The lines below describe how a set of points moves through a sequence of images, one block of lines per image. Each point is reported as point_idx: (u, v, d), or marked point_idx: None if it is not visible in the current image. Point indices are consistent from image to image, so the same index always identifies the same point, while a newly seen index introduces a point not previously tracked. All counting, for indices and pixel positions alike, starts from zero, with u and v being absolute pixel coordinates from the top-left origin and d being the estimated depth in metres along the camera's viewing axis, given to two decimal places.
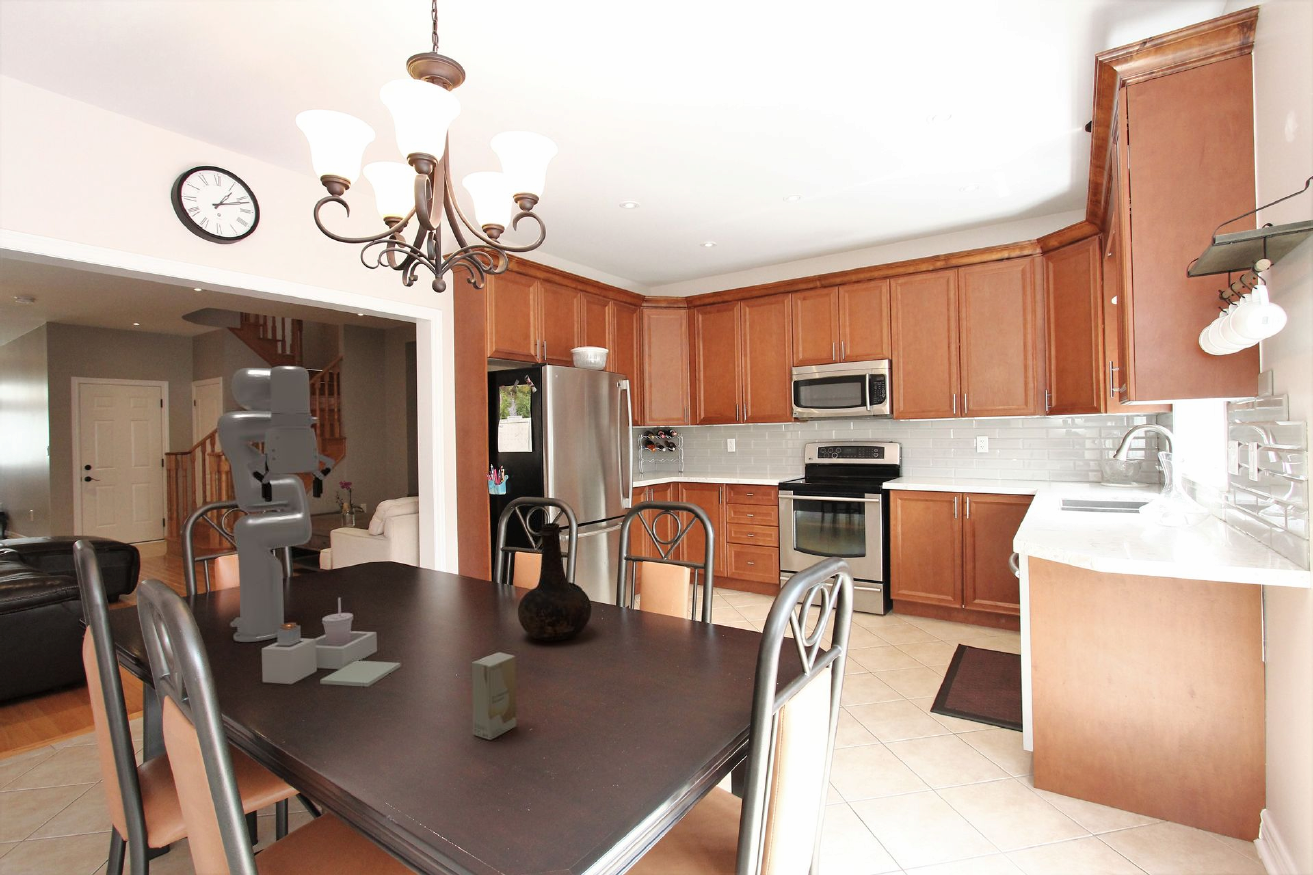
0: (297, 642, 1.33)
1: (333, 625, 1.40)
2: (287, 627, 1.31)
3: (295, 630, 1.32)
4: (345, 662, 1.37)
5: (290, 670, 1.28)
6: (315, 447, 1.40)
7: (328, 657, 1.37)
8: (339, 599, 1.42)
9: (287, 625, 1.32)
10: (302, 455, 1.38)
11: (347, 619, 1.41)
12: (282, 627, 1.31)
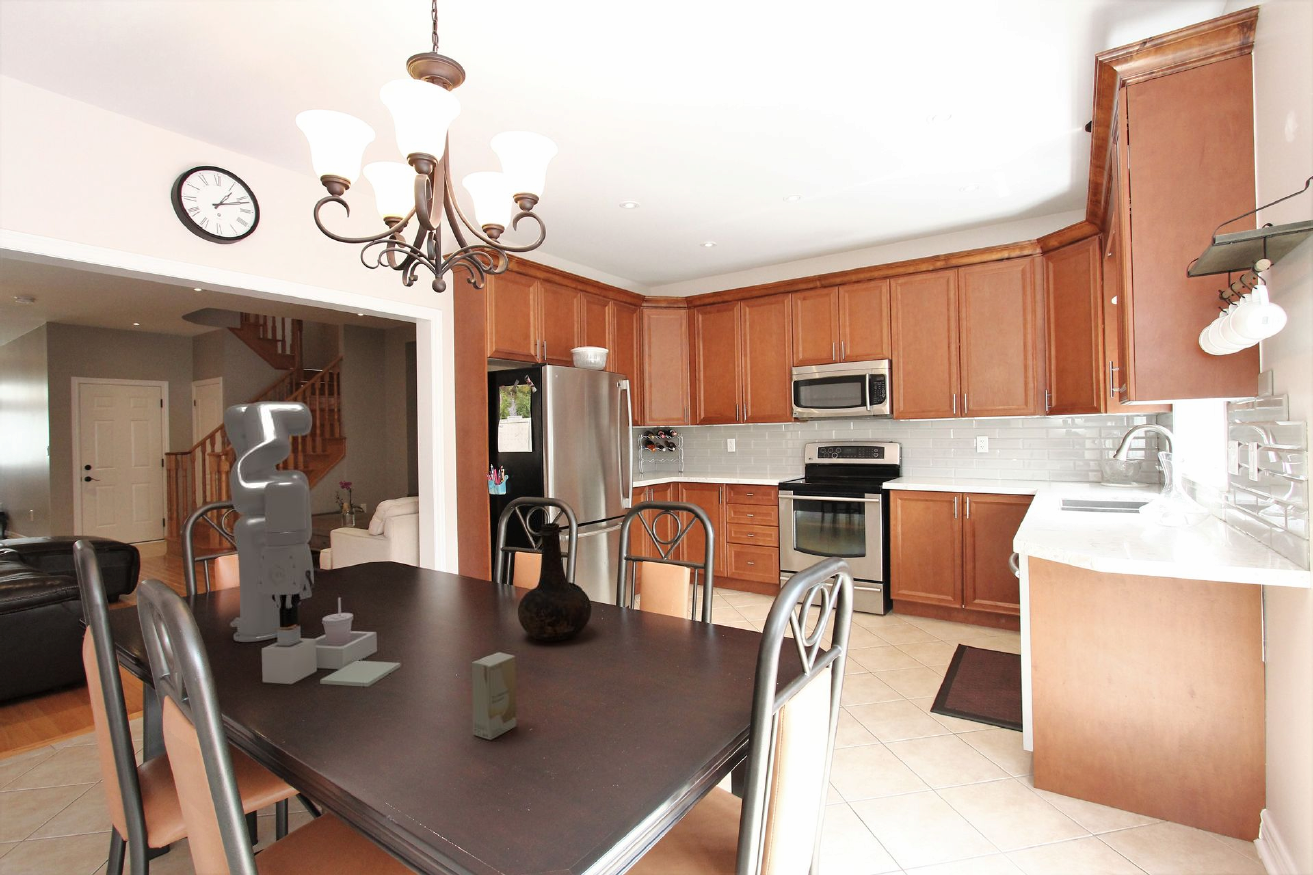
0: (297, 643, 1.33)
1: (333, 625, 1.40)
2: (287, 628, 1.31)
3: (295, 630, 1.32)
4: (345, 662, 1.37)
5: (290, 670, 1.28)
6: None
7: (328, 657, 1.37)
8: (339, 599, 1.42)
9: None
10: None
11: (347, 619, 1.41)
12: (282, 628, 1.31)
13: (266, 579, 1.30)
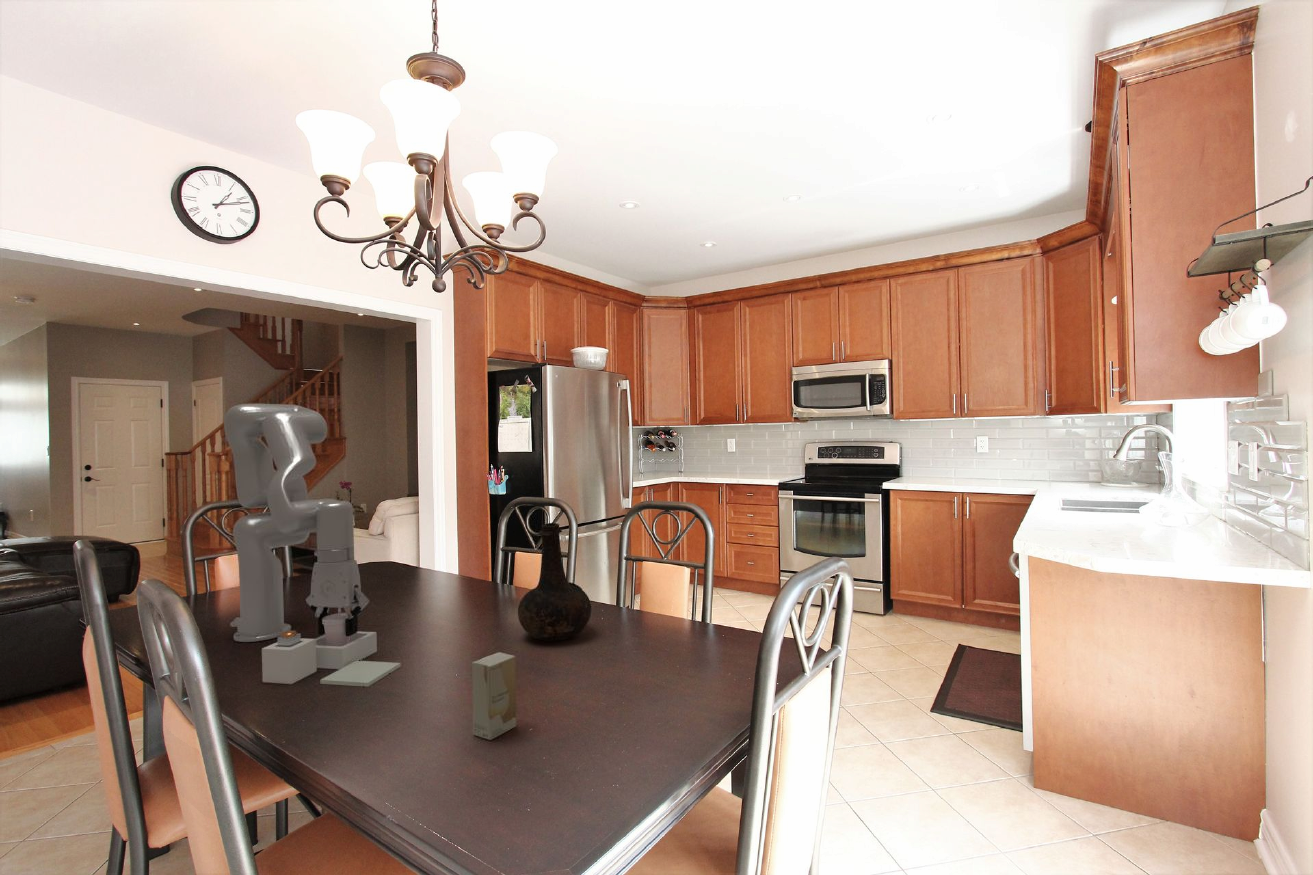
0: None
1: (333, 625, 1.40)
2: (287, 635, 1.31)
3: (296, 638, 1.32)
4: (345, 662, 1.37)
5: (290, 670, 1.28)
6: None
7: (328, 657, 1.37)
8: None
9: (287, 633, 1.32)
10: None
11: None
12: (282, 635, 1.31)
13: (318, 593, 1.40)
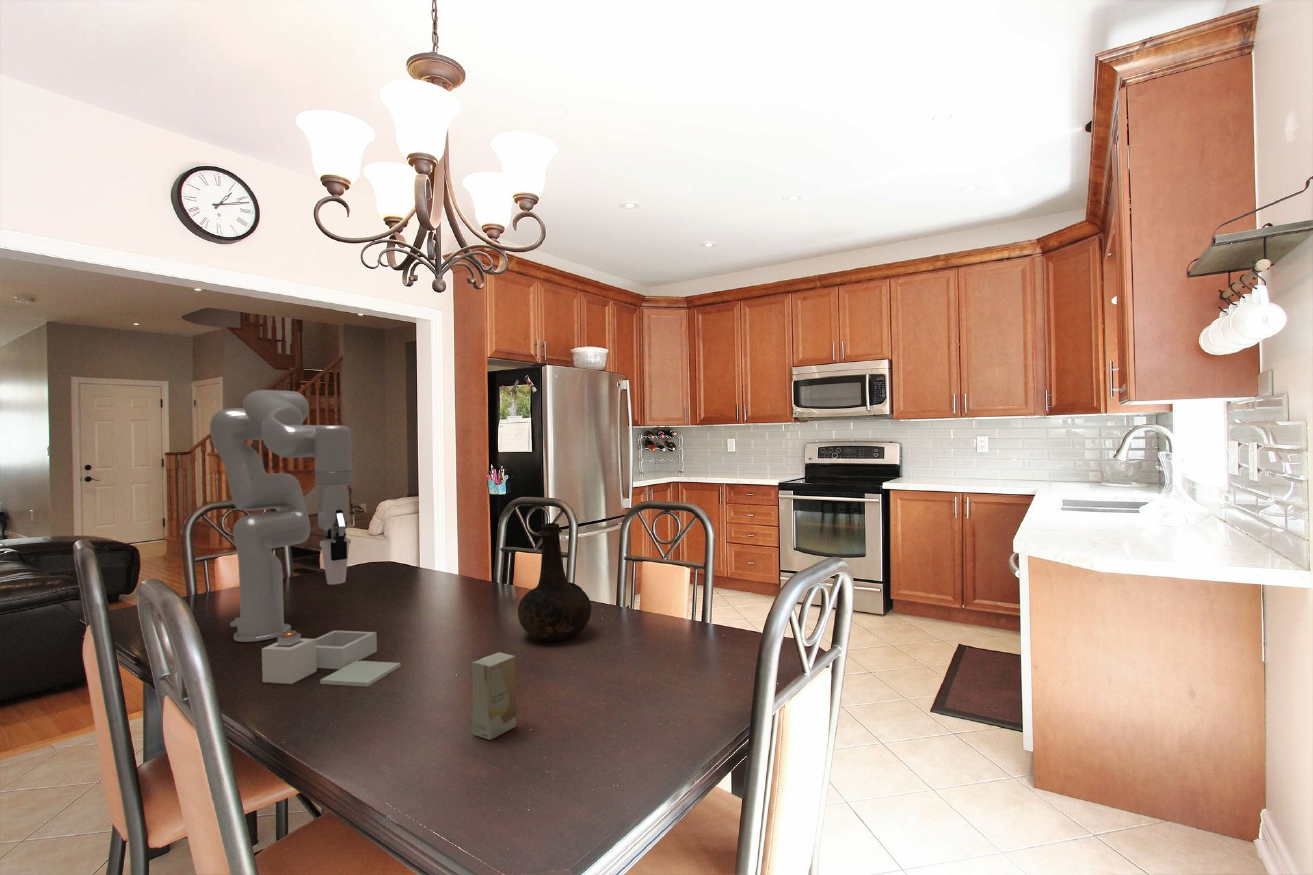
0: None
1: (322, 547, 1.40)
2: (287, 635, 1.31)
3: (296, 638, 1.32)
4: (345, 662, 1.37)
5: (290, 670, 1.28)
6: None
7: (328, 657, 1.37)
8: None
9: (287, 633, 1.32)
10: None
11: None
12: (282, 635, 1.31)
13: (318, 514, 1.43)
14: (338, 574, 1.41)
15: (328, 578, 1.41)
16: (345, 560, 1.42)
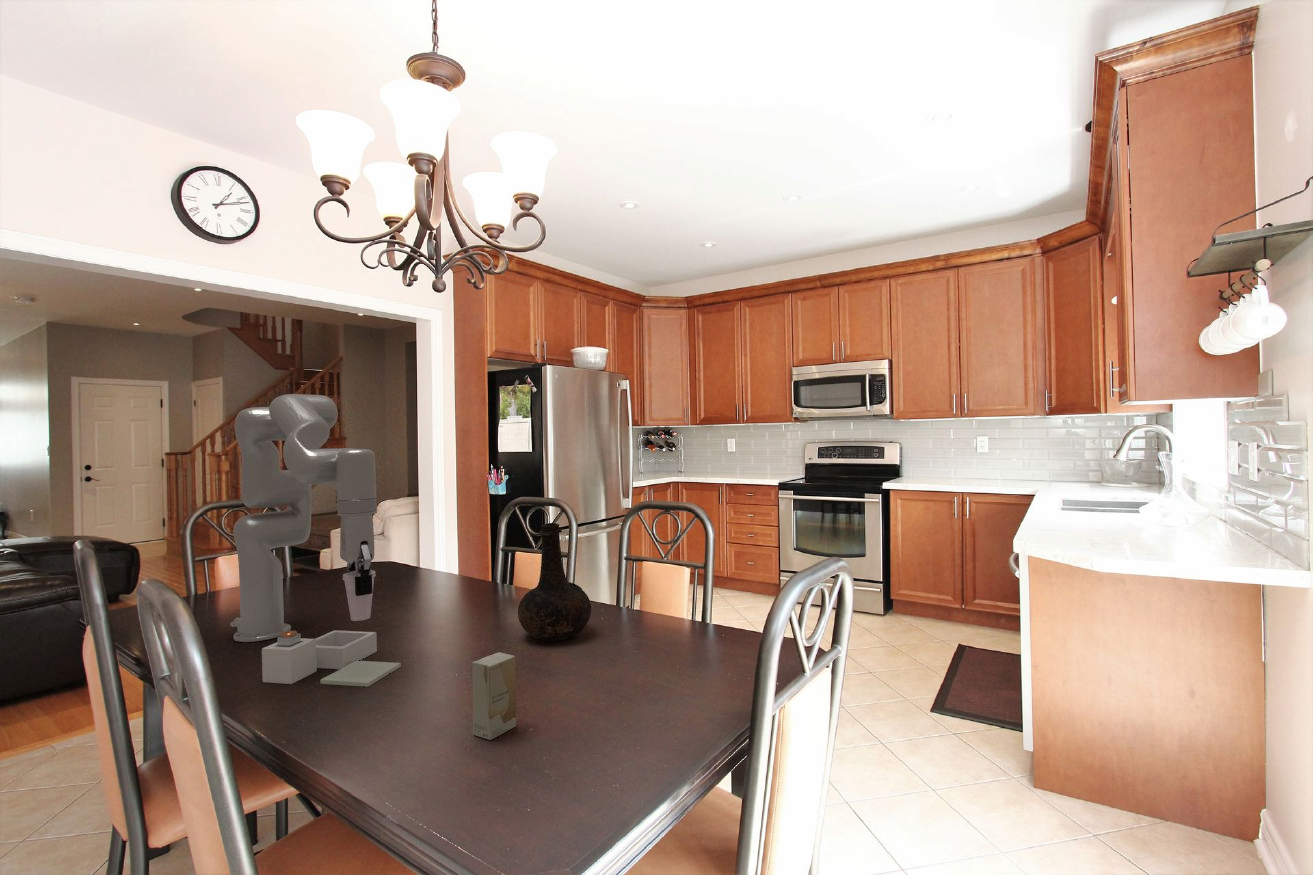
0: None
1: (346, 581, 1.30)
2: (287, 635, 1.31)
3: (296, 638, 1.32)
4: (345, 662, 1.37)
5: (290, 670, 1.28)
6: None
7: (328, 657, 1.37)
8: None
9: (287, 633, 1.32)
10: None
11: None
12: (282, 635, 1.31)
13: (341, 545, 1.33)
14: (362, 610, 1.31)
15: (352, 614, 1.31)
16: (370, 594, 1.32)
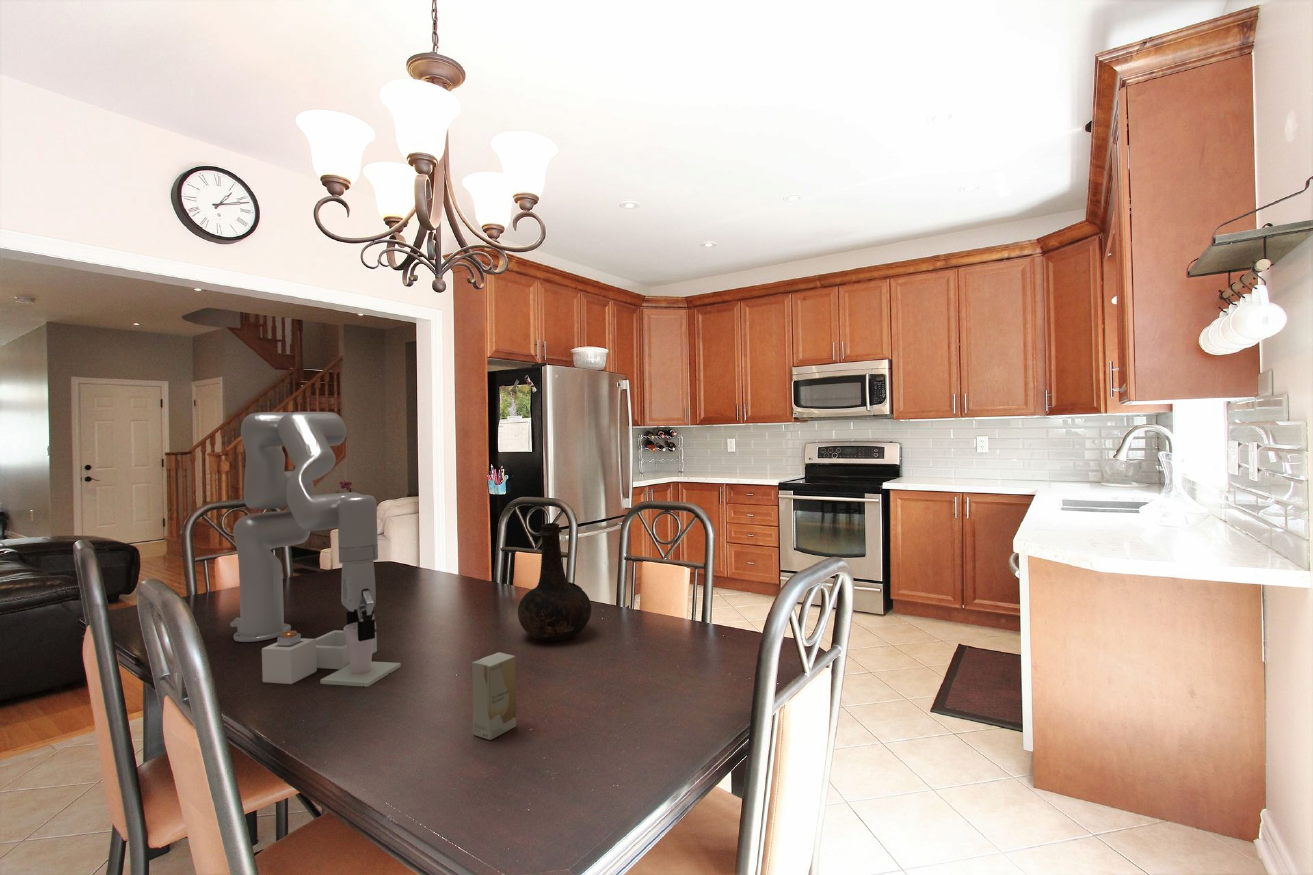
0: None
1: (347, 634, 1.30)
2: (287, 635, 1.31)
3: (296, 638, 1.32)
4: (345, 662, 1.37)
5: (290, 670, 1.28)
6: None
7: (328, 657, 1.37)
8: None
9: (287, 633, 1.32)
10: None
11: None
12: (282, 635, 1.31)
13: (342, 591, 1.33)
14: (363, 663, 1.31)
15: (352, 667, 1.31)
16: (370, 647, 1.32)
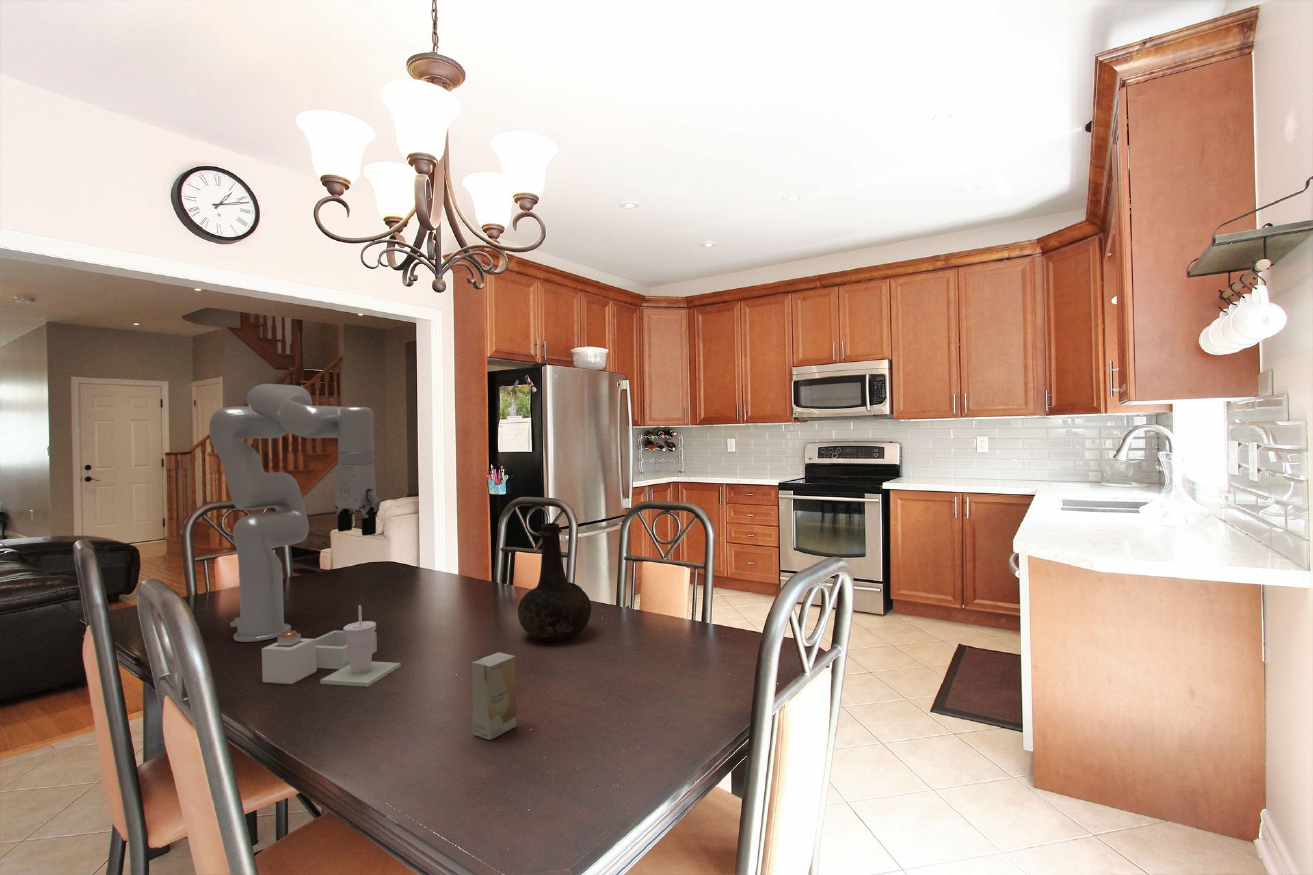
0: None
1: (347, 634, 1.30)
2: (287, 635, 1.31)
3: (296, 638, 1.32)
4: (345, 662, 1.37)
5: (290, 670, 1.28)
6: None
7: (328, 657, 1.37)
8: (359, 607, 1.32)
9: (287, 633, 1.32)
10: None
11: (360, 631, 1.30)
12: (282, 635, 1.31)
13: (338, 494, 1.45)
14: (363, 663, 1.31)
15: (352, 667, 1.31)
16: (370, 647, 1.32)
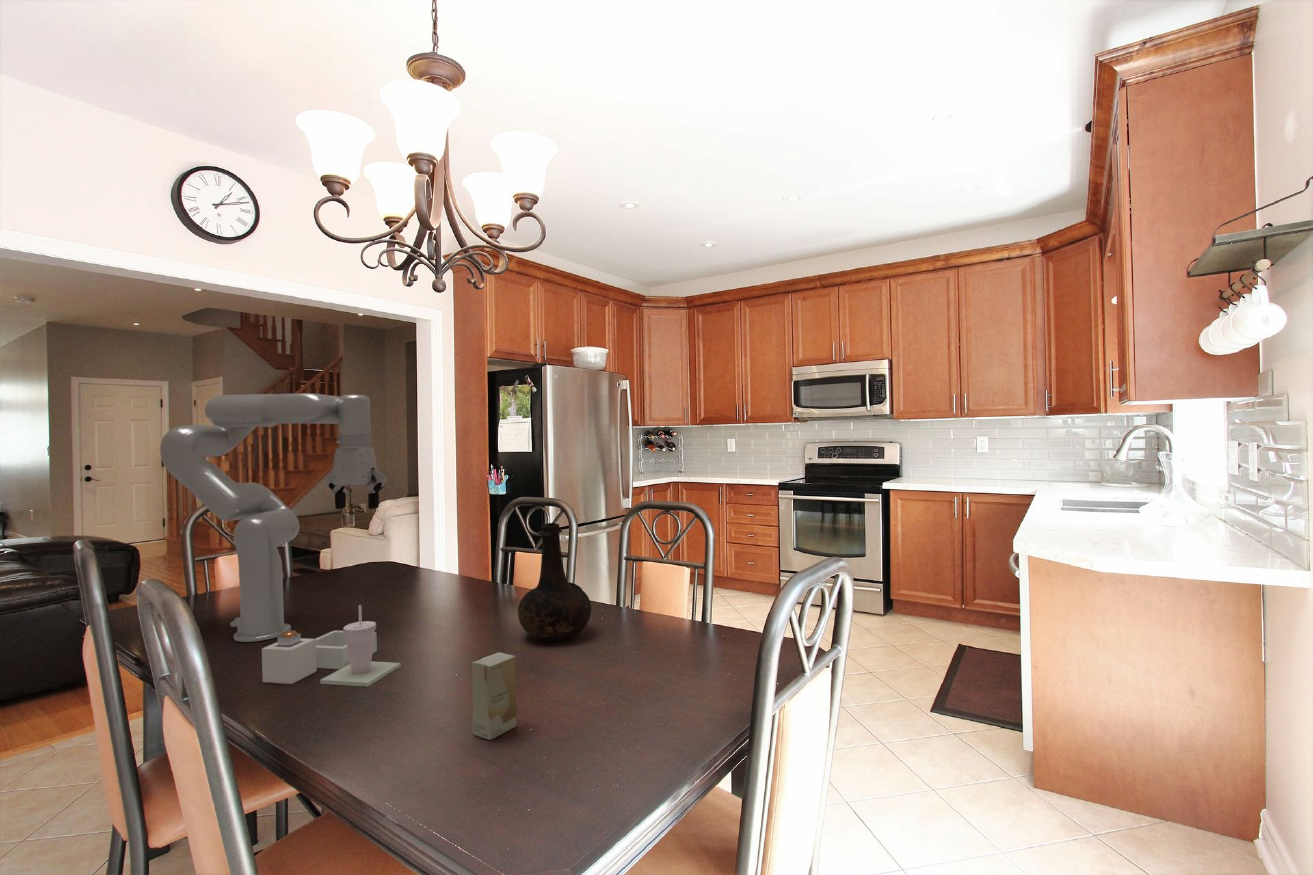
0: None
1: (347, 634, 1.30)
2: (287, 635, 1.31)
3: (296, 638, 1.32)
4: (345, 662, 1.37)
5: (290, 670, 1.28)
6: None
7: (328, 657, 1.37)
8: (359, 607, 1.32)
9: (287, 633, 1.32)
10: None
11: (360, 630, 1.30)
12: (282, 635, 1.31)
13: (339, 474, 1.60)
14: (363, 663, 1.31)
15: (352, 667, 1.31)
16: (370, 647, 1.32)
